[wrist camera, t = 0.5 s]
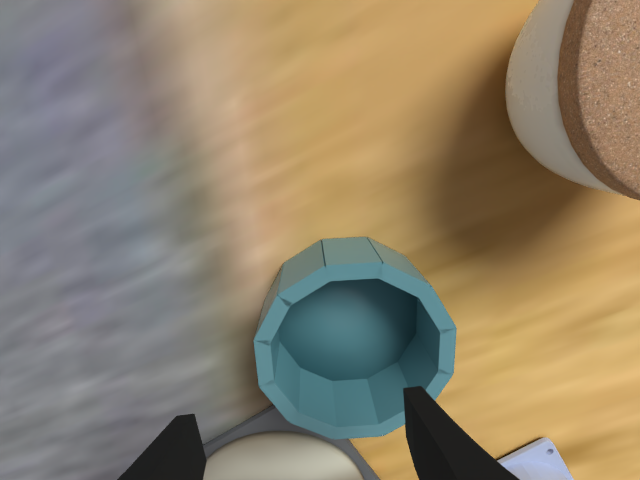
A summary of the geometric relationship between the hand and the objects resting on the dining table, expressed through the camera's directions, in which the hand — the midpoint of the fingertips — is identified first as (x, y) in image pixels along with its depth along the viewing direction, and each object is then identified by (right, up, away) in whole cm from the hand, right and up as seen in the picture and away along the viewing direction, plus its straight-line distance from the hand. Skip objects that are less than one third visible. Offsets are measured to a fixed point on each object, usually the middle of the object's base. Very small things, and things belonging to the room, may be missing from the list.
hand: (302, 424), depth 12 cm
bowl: (+2, +2, +10) cm, 10 cm away
